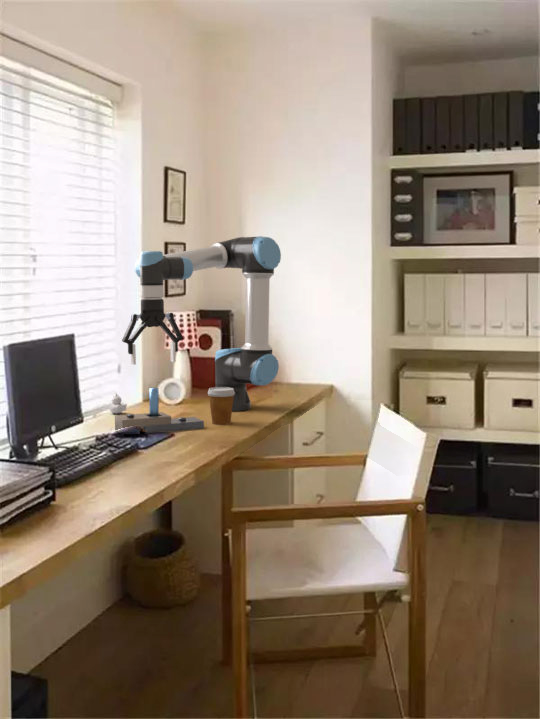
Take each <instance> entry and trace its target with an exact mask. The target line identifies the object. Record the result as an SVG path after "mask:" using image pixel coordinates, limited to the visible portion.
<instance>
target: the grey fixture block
mask: <svg viewBox="0 0 540 719" xmlns="http://www.w3.org/2000/svg"><path fill="white" fill-rule="evenodd" d="M130 426H138V427H142V428H143V429H144V430H145V431H146V432H147V433H146V434H155V433H168V432H177V431H178V432H179V431H190V430H191V431H192V430H202V429H205V420H202V419H200V418H198V417H195V416H189V417H177V418H174V417H173V418H172V415H169V414H167V413H165V412H162V411H159V416H153V417H150V412H146V413H127V414H122V415H121V414H120V415H119V414H117V415H114V431H115V430H118V429H121V428H125V427H130Z"/></svg>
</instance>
